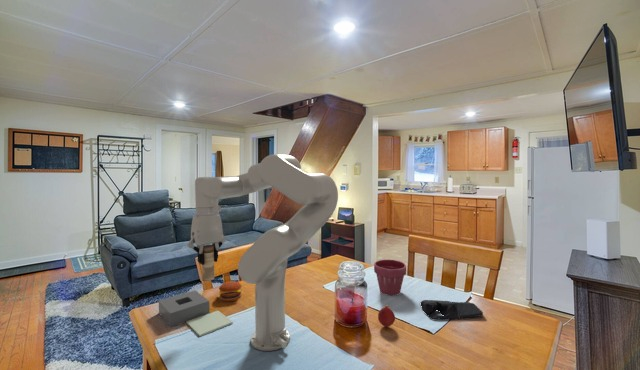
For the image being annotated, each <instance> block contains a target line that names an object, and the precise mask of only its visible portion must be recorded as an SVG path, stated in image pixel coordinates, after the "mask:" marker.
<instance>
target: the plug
mask: <svg viewBox="0 0 640 370" xmlns="http://www.w3.org/2000/svg"><path fill="white" fill-rule="evenodd" d="M203 253H204V265H201V267H202V268H201V272H202V277H201V278H202V281H203V282H211V281H213V280H215V261H214V245H212V244H205V245H204V247H203Z"/></svg>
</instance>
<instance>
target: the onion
mask: <svg viewBox="0 0 640 370" xmlns="http://www.w3.org/2000/svg"><path fill="white" fill-rule="evenodd" d="M377 319H378V322H379V323H380V325H381V326H383V327H384V328H389V327H390V326H393V324H394V322H395V321H396V315H395V313H394V311H393V309H391V308H390V305H388V304H386V305H385V306H384V307H382V308H381V309H380V310H379V311H378V314H377Z"/></svg>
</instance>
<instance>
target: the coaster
mask: <svg viewBox="0 0 640 370" xmlns="http://www.w3.org/2000/svg"><path fill="white" fill-rule="evenodd" d="M185 323H186V324H187V325H188V326H189V328H190V329H191V330H193V331H194V332H195V334H196V335H197V336H198V337H202V336H205V335H208V334H210V333H213V332H214V331H217V329H218V330H219V329H223V328H225V327H227V326H230V325H233V324H234V322H233V321H232V320H231V319H230V318H228V317H227V316H226V315H225V314H223V313H222V312H221V311H219V310H215V311H212V312H209V314H206V315H203V316H201V317H198V318H195V319H192V320H189V321H186V322H185Z"/></svg>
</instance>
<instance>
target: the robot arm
mask: <svg viewBox="0 0 640 370" xmlns="http://www.w3.org/2000/svg"><path fill="white" fill-rule="evenodd" d="M271 188H273V189H275V190H276V191H278V192H279V193H280V194H283V195H284V196H285V197H287V198H288V199H290V200H292V201H293V202H295V203H297V204H300V205H303V206H302V207H300V208H299V210H298V211H296V213H295V214H294V215H292V217H291V218H290V219H289V220H288V221H286V222H285V223H283V224H281V225H278V226H276V227H273V228H270V229H268V230H266V232H263V233H262V234H261V236H259V238H258V239H256V241H254V243H253V244H251V246H250V247H248V249H247V250H245V252H244V253H243V254H242V256H241V257H240V259H239V261H238V264H237V265H238V266H237V273H238V275H239V278H240V279H241V280H242V281H243V282H244V283H246V284H249V285H255V287H254V301H255V303H254V304H255V305H254V306H255V307H254V308H255V309H254V310H255V312H254V313H255V317H254V318H255V319H254V320H255V331H254V332H253V333H252V334H251V337H250V344H251V346H252V347H253V348H255V349H256V350H259V351H262V352H264V351H265V352H272V351H277V350H280V349H285V348H286V347H287V345H288V344H289V343H290V341H291V338H290V337H291V335H290V332H289V331H288V329H287V328H286V303H285V302H286V292H285V291H286V289H285V288H286V287H285V286H286V274H287V267H288V258H290V257H292V256H293V255H295V254H297V253H298V252H300V250H301V249H302V248H303V247H304V246H305V244H307V243H308V242H309V241H310V240H311V239H312V238H313V237H314V236H315V234H317V233H318V231H320V229H321V228H322V227H324V225H325V224H326V223H327V222H328V221H329V220H330V218H331V217H332V216H333V214H334V212H335V211H336V209H337V206H338V201H339V192H338V186H337V184H336V182H335V180H334V179H333V178H332V176H329V175H328V174H326V173H322V172H321V173H319V172H317V173H315V172H314V173H312V172H311V173H306V172H304V170H303V171H302V167H301V163H300V161H299V160H298V158H296V157H294V156H292V155H289V154H278V153H275V154H269V155H267V156H265V157H264V158H263V159H262V160H261V161H260V162H259V163H255V164H252V165H250V167H249V168H248V170H247V172H246V173H243V174H239V175H233V176H200V177H196V179H194V196H195V197H194V201H195V206H194V207H195V215H194V216H192V221H191V227H190V228H191V229H190V240H189V241H188V243H187V245H186V247H187V248H189V249H191V250H193V251H195V252H196V254H197V263H198V264H200V265H201V266H202V265H204V253H203V247H204V245H214V263H217V262H218V258H219V251H220V249H221V247H222V245H223V244H224V243H225V242H227V240H228V238H227V237H226V236H225V235H224V233H223V232H224V229H223V223H222V222H223V221H222V218H221V214H219V212H222V210H223V209H222V207H220V206H219V200H223V199H229V198H231V199H232V198H237V197H241V196H245V195H250V194H253V193H256V192H260V191H264V190H267V189H271ZM194 244H195V245H196V246H195V245H194Z"/></svg>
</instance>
